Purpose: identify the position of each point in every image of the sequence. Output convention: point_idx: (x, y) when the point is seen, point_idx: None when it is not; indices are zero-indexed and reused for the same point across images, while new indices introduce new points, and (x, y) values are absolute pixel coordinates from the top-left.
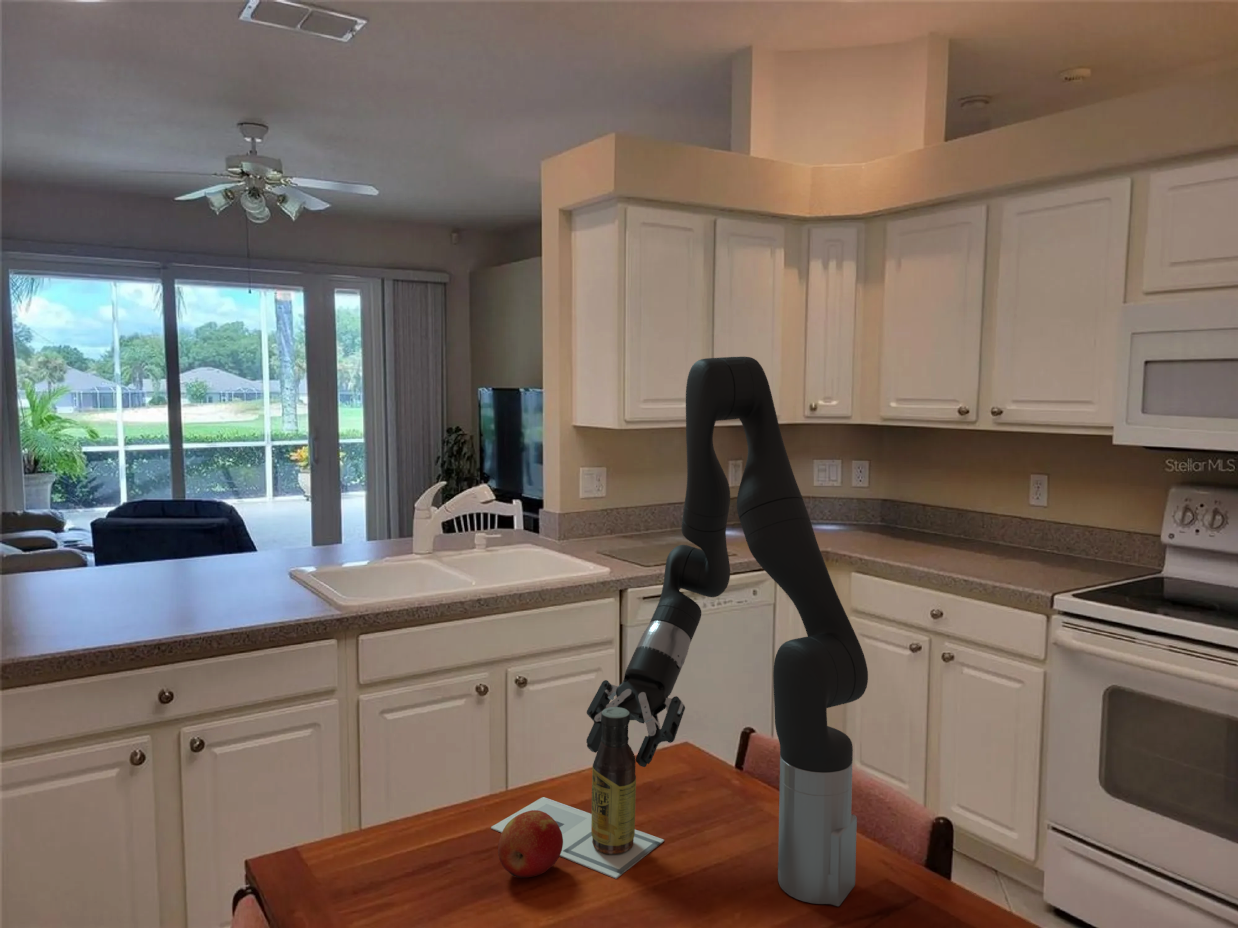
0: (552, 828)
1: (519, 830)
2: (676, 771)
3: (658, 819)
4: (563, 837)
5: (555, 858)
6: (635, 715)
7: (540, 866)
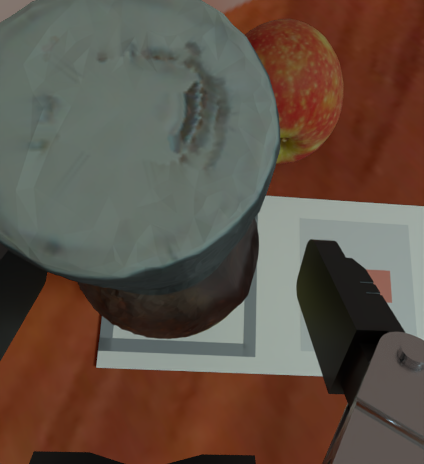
0: None
1: (282, 22)
2: None
3: (156, 455)
4: (289, 251)
5: None
6: (74, 461)
7: None
